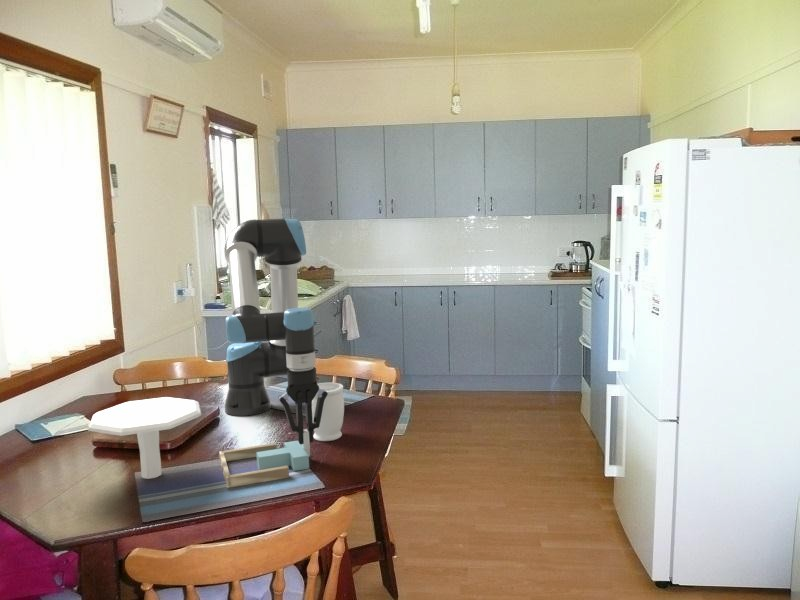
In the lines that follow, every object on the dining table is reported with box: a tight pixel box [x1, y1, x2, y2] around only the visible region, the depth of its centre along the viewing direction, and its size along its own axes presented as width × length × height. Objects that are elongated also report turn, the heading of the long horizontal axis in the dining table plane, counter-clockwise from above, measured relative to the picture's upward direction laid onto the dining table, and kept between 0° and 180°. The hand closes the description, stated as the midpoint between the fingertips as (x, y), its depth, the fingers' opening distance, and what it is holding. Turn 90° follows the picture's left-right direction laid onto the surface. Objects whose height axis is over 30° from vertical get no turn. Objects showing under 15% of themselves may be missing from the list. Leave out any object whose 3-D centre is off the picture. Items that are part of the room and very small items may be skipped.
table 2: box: [87, 396, 202, 480], centre depth 161 cm, size 28×28×17 cm
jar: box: [312, 382, 345, 442], centre depth 185 cm, size 11×10×15 cm
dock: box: [218, 442, 290, 489], centre depth 164 cm, size 19×15×2 cm
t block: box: [256, 440, 310, 472], centre depth 166 cm, size 12×12×4 cm
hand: (306, 454), depth 169 cm, fingers closed
